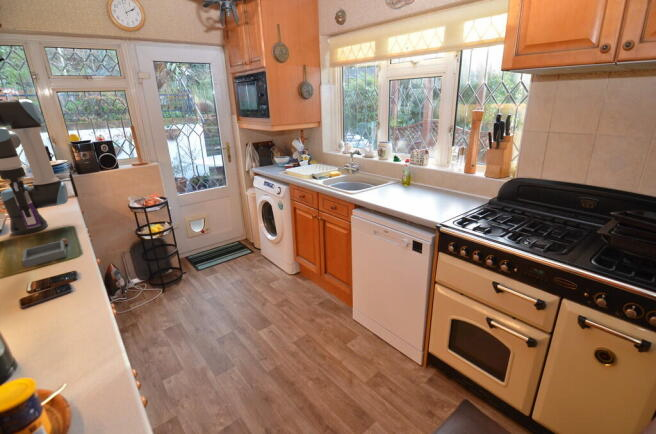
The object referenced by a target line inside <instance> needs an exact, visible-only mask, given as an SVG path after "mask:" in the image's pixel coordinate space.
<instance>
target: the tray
mask: <svg viewBox="0 0 656 434" xmlns="http://www.w3.org/2000/svg"><path fill="white" fill-rule="evenodd" d="M60 240H61V239H60ZM60 240H59V241H58V240H57V241H53V242H50V243H46V244H42V245H38V246H34V247H33V246H32V247H29V248H26V249H23V253H22V259H21V262H22V264H23V267H24V268H29V267H32V266H36V265H40V264H44V263H49V262H50V261H55V260H59V259H62V258H66V257H67V250H66V245H65V244H64V242H63V240H61V241H60Z"/></svg>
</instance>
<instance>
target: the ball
mask: <svg viewBox="0 0 656 434" xmlns="http://www.w3.org/2000/svg"><path fill="white" fill-rule="evenodd" d="M61 240H63V242H64V244H65V246H66V245H68V244H69V240H68V238H64V237H63V238H61V239H60V240H59V241H61Z"/></svg>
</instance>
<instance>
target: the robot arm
mask: <svg viewBox="0 0 656 434" xmlns="http://www.w3.org/2000/svg"><path fill="white" fill-rule="evenodd" d="M40 111H41V110H39V107H38V106H37V104H35V102H33V100H29V99H14V100H0V179H1V180H3V181H7V180H9V181H10V183H9V188H7V189H4V190H2V191H1V192H0V199H1V202H2V203H3V206H4V208H5V211H6V212H7V216H8V217H9V220H10V223H9V227H10V233H11V234H12V235H14V236H21V235H22V236H23V235H28V234H34V233H36V232H39V231H42V230H44V229H46V228H47V227H49V223H48V222H47V220H46V219H45V218H44V217H43V216H42V214H40V212H39V209H44V208H48V207H49V208H50V207H55V206H57V207H58V206H61V205H65V204H67V203H68V201H69V195H68V188H67V184H66V183H65V181H64V182H63V181H62V180H61V179H60V178H58V177H56V175H55V173H54V169H53V166H52V164H51V161H50V157H49V154H48V153H47V150H46V147H45V144H44V140H43V138H42V135H41V133H40V130H41V129H42V128H43V127H42V124H44V121H45V120H44V118H43V115H42V113H41V112H40ZM7 127H10V129H11V130H8V128H7ZM20 146H21V147H22V150H23V151H24V154H25V155H24V156H25V157H26V160H27V162H28V165H29V167H30V171H31V173H32V176H33V179H34V181H33V182H32V184H31V185H32V186H31V187H30V186H29V185H28V184H25V182H24V181H23V180H22V179H21V178H24V177H26V175H27V174H26V172H25V170H24V167H23V164H22V161H21V158H20V156H19V154H18V151H17V149H18V148H19V147H20ZM25 191H27V192H28V194H29V197H30V199H31V201H32V204H33V206H34V209H35V211H36V214H37V216H38V219H39V221H40V224H41V225H40V226H38V227H34V228H27V227H26V225H25V222H24V220H23V218H22V215H21V213H20V211H22V212H23V215H24V217H25V219H26V222H27V224H28V225H31V224H35V223H36V221H35V218H34V216H33V213H32V211H31V209H30V207H29V205H28V202H27V200H26V197H25V194H24V193H25ZM13 193H14V194H15V197H16V199H17V202H18V204H19V206H20V209H19V208H18V206H17V203H16V200H15V198H14V195H13Z"/></svg>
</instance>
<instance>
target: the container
mask: <svg viewBox="0 0 656 434" xmlns="http://www.w3.org/2000/svg"><path fill="white" fill-rule="evenodd" d="M24 194H25V197H26V200H27V202H28V205H29V207H30V209H31V211H32V213H33V216H34V218H35V221H36V223H35V224H31V225H28V224H27V222H26V219H25V217H24V215H23V212H22V211H20V213H21V215H22V218H23V220H24V222H25V225H26V227H27V228H34V227H38V226H40V225H41V224H40V221H39V219H38V216H37V214H36V211H35V209H34V206H33V204H32V201H31V199H30V197H29V194H28V192H27V191H25V193H24ZM13 195H14V198H15V200H16V203H17V206H18V208H19V209H20V206H19V204H18V202H17V199H16V197H15V194H14V193H13Z"/></svg>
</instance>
